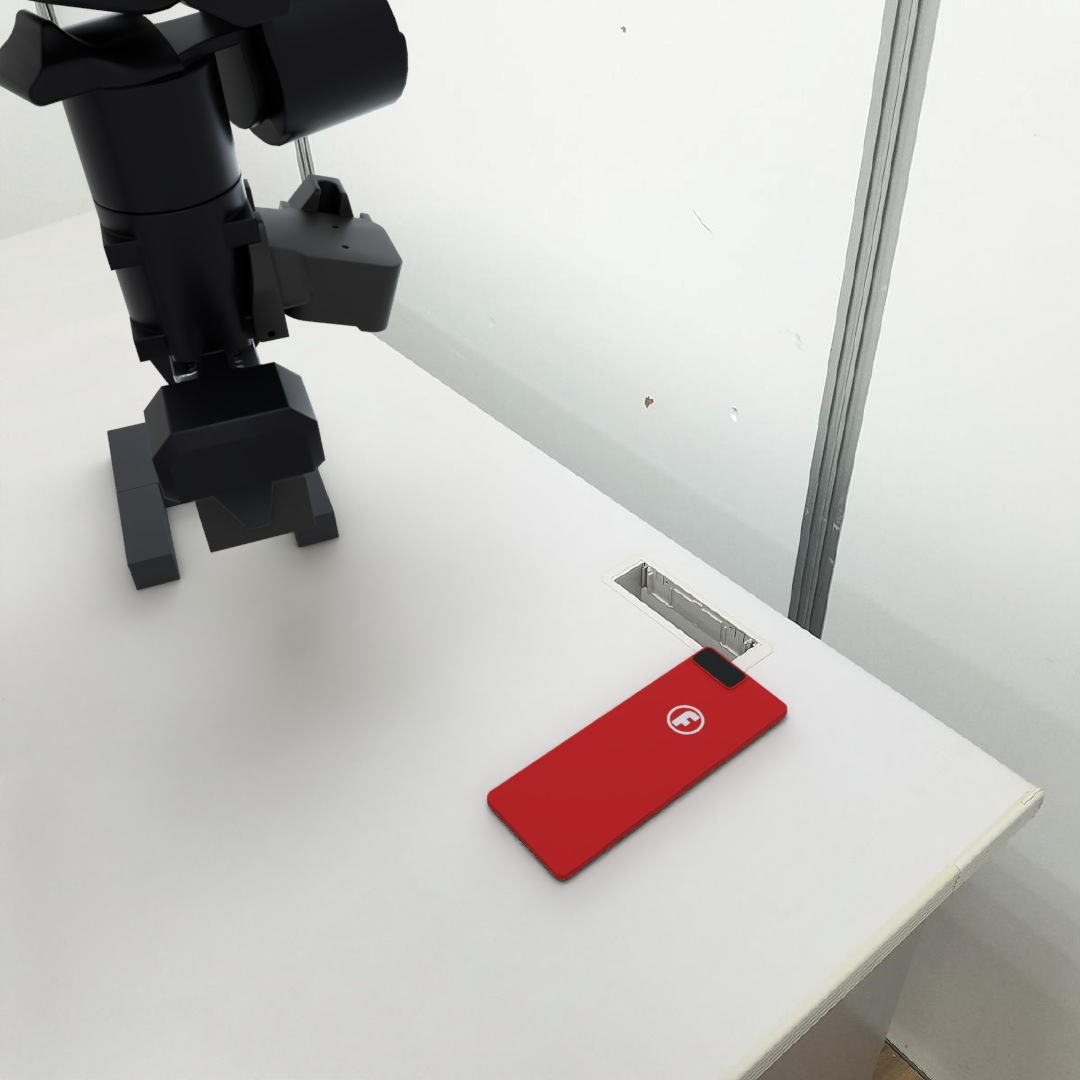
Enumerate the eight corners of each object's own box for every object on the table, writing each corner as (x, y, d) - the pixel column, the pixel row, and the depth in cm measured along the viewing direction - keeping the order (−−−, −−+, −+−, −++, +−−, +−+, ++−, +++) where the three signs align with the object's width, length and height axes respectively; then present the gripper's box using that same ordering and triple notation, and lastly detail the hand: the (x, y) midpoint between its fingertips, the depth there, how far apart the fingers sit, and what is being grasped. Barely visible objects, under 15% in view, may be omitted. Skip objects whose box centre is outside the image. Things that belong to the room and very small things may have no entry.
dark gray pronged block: (136, 590, 66) (127, 564, 65) (115, 454, 76) (106, 430, 75) (339, 537, 69) (334, 511, 68) (293, 413, 79) (287, 389, 78)
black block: (210, 553, 53) (195, 504, 51) (197, 490, 57) (182, 441, 55) (316, 526, 54) (305, 477, 52) (296, 466, 58) (285, 418, 56)
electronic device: (561, 885, 51) (790, 714, 57) (561, 878, 50) (791, 707, 57) (483, 801, 54) (707, 649, 61) (482, 794, 54) (708, 642, 61)
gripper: (431, 246, 40) (467, 573, 50) (322, 70, 53) (368, 357, 63) (100, 312, 37) (211, 642, 47) (73, 110, 50) (164, 402, 61)
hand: (249, 492), depth 55 cm, fingers closed on black block, 5 cm apart
